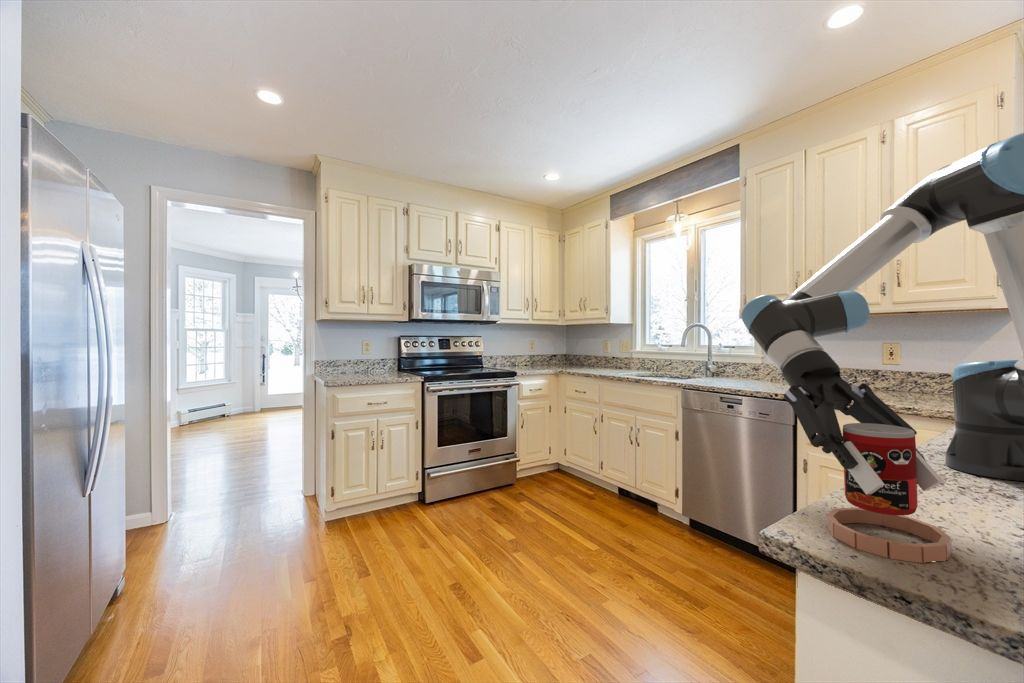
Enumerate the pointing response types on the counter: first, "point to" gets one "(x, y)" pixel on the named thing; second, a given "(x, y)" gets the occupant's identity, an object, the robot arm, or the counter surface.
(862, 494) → the canned food
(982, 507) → the counter surface
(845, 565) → the counter surface
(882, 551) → the ring
